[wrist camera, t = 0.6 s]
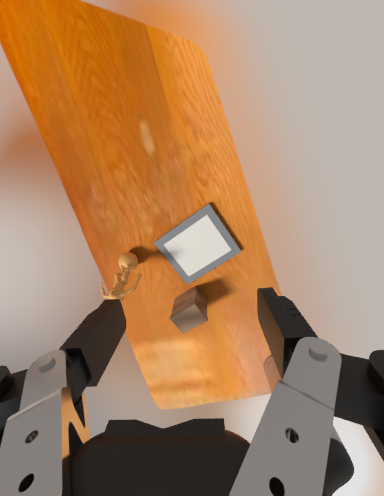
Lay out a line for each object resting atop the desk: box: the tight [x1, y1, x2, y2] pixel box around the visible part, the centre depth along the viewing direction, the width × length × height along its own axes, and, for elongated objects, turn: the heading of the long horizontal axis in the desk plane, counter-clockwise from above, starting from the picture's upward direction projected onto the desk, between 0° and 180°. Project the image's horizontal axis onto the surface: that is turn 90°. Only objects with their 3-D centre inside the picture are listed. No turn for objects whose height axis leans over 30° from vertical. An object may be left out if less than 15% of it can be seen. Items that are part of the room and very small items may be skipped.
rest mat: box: [154, 204, 242, 284], centre depth 41 cm, size 12×14×1 cm
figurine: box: [101, 253, 142, 301], centre depth 37 cm, size 8×6×12 cm
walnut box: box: [170, 286, 208, 334], centre depth 42 cm, size 5×6×7 cm
